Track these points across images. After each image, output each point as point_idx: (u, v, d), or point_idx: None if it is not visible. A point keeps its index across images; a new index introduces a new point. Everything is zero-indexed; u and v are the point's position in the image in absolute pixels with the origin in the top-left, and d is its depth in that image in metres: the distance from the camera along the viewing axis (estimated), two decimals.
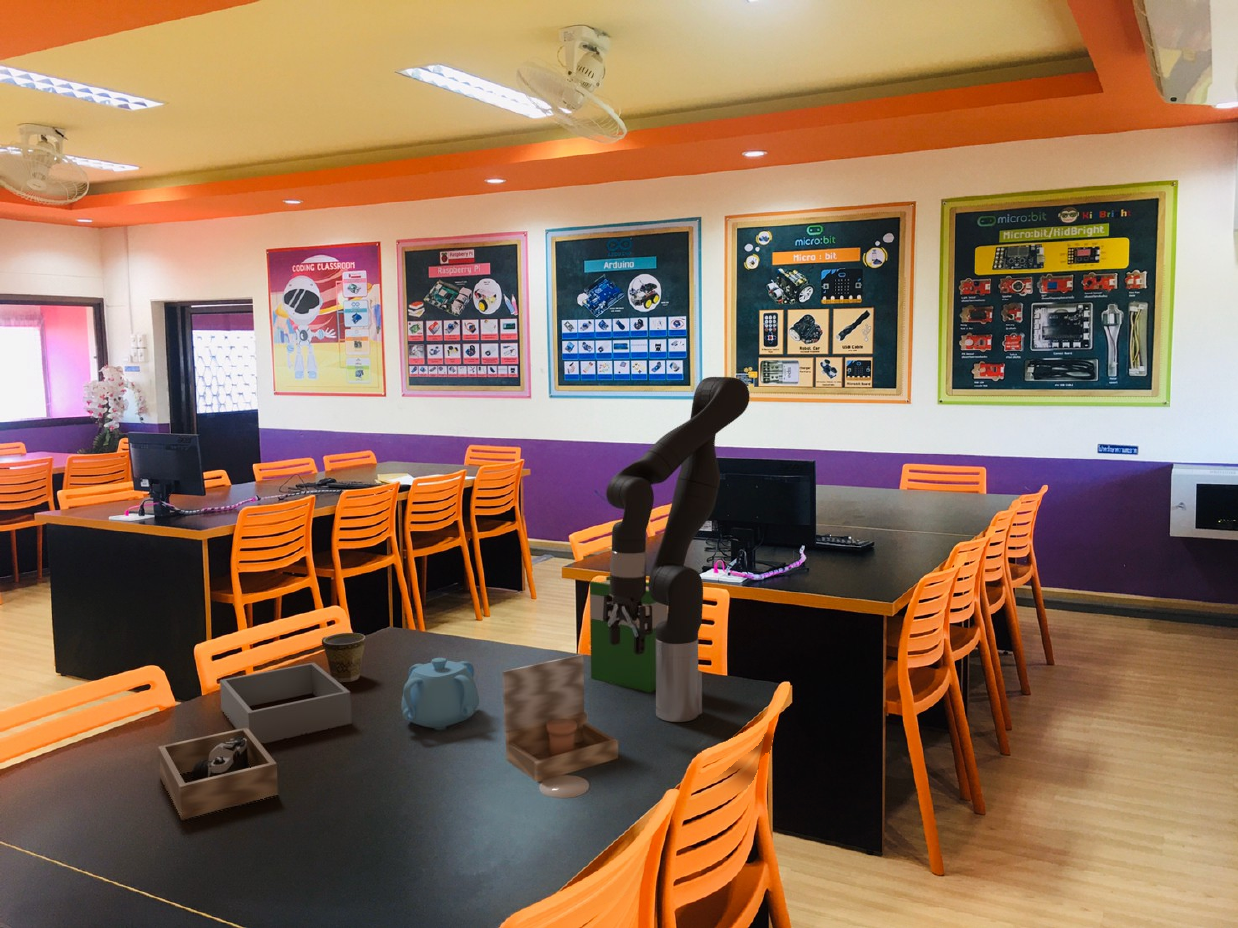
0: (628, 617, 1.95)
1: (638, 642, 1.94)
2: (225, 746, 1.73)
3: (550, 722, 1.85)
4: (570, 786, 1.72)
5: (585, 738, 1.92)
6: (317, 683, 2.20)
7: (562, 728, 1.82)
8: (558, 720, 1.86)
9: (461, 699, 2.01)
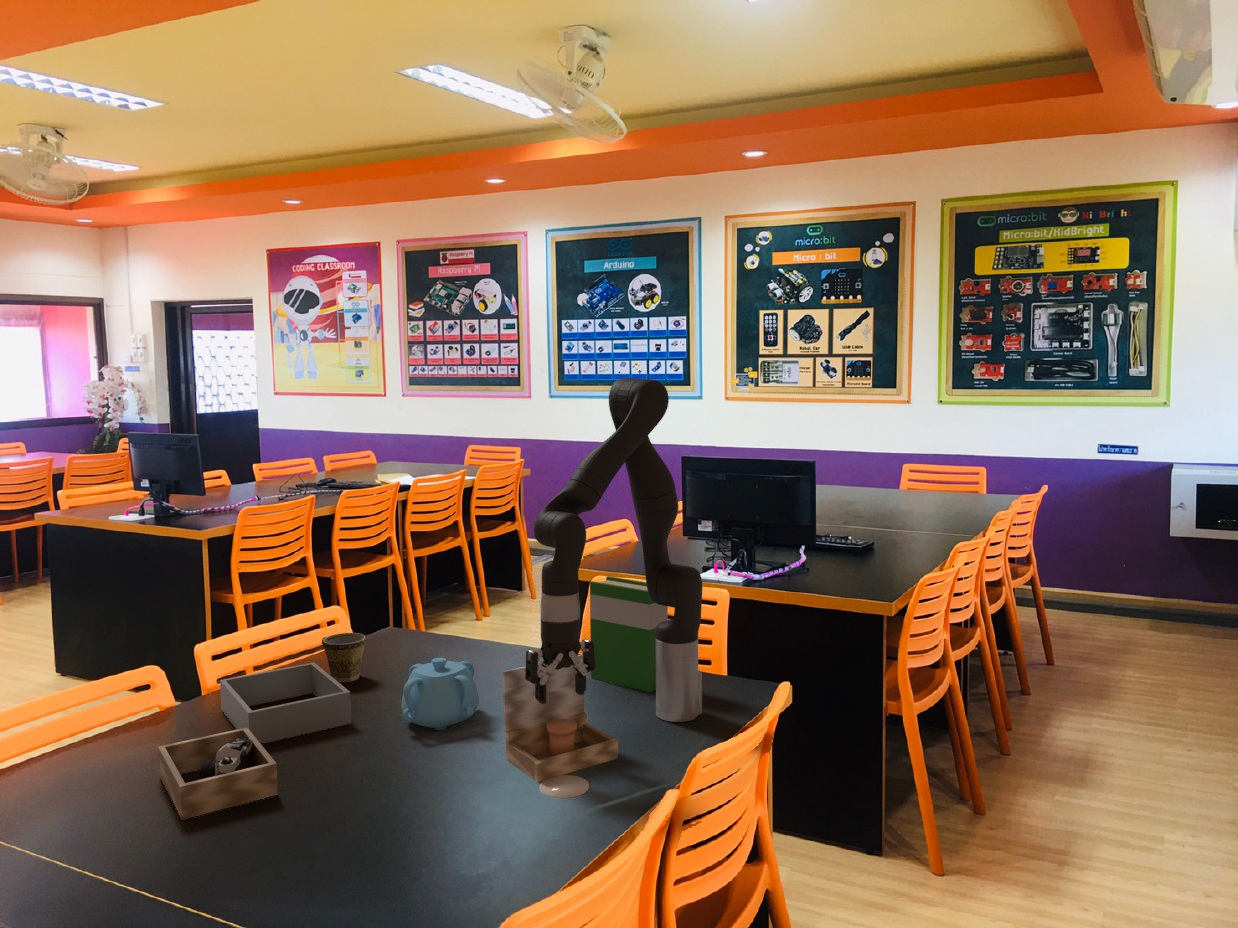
0: (577, 659, 1.82)
1: (584, 680, 1.85)
2: (232, 746, 1.73)
3: (550, 722, 1.85)
4: (570, 786, 1.72)
5: (585, 738, 1.92)
6: (317, 683, 2.20)
7: (562, 728, 1.82)
8: (558, 720, 1.86)
9: (461, 699, 2.01)
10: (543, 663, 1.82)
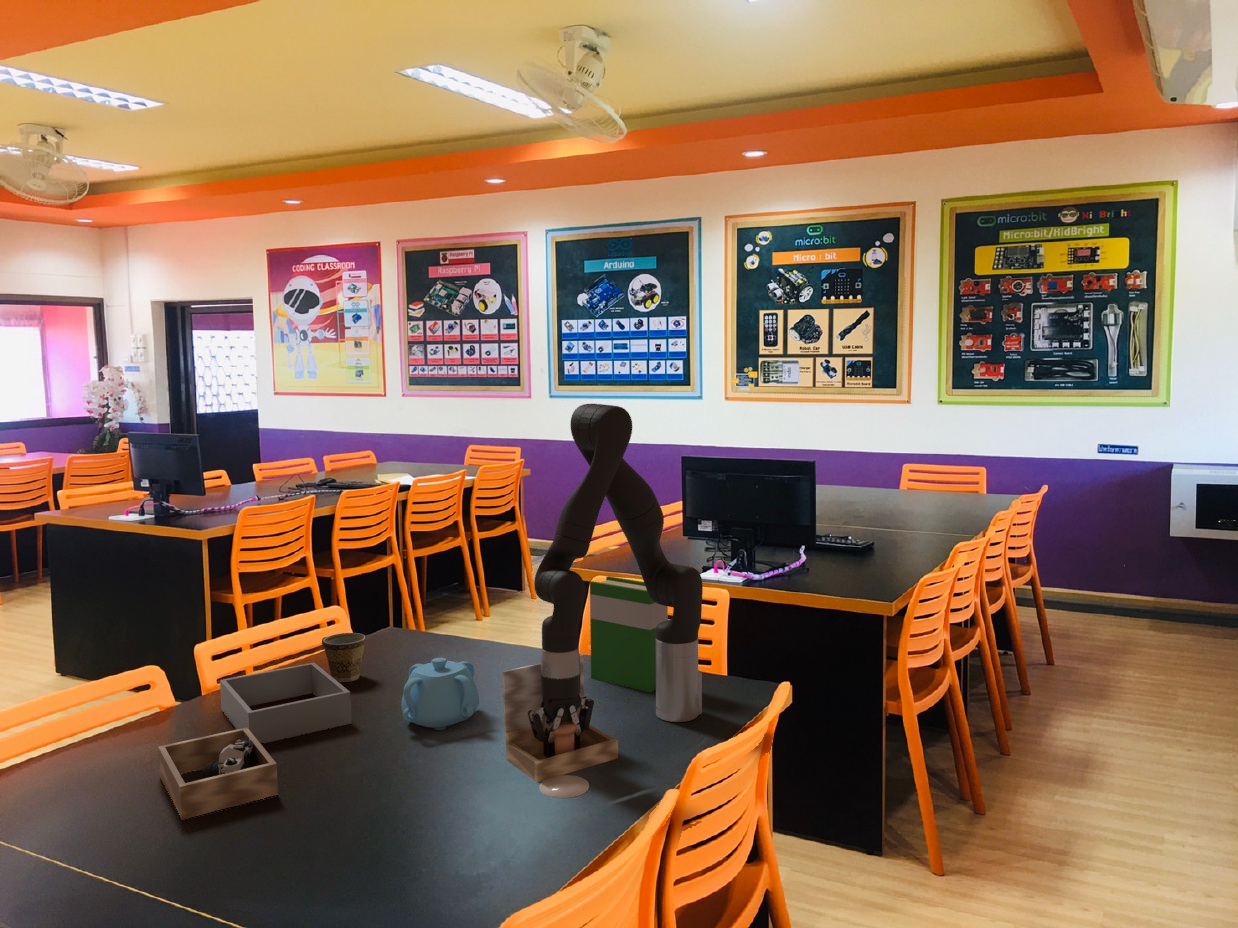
0: (575, 716, 1.83)
1: (578, 739, 1.86)
2: (235, 747, 1.73)
3: None
4: (570, 786, 1.72)
5: (585, 738, 1.92)
6: (317, 683, 2.20)
7: (562, 728, 1.82)
8: None
9: (461, 699, 2.01)
10: (547, 719, 1.83)
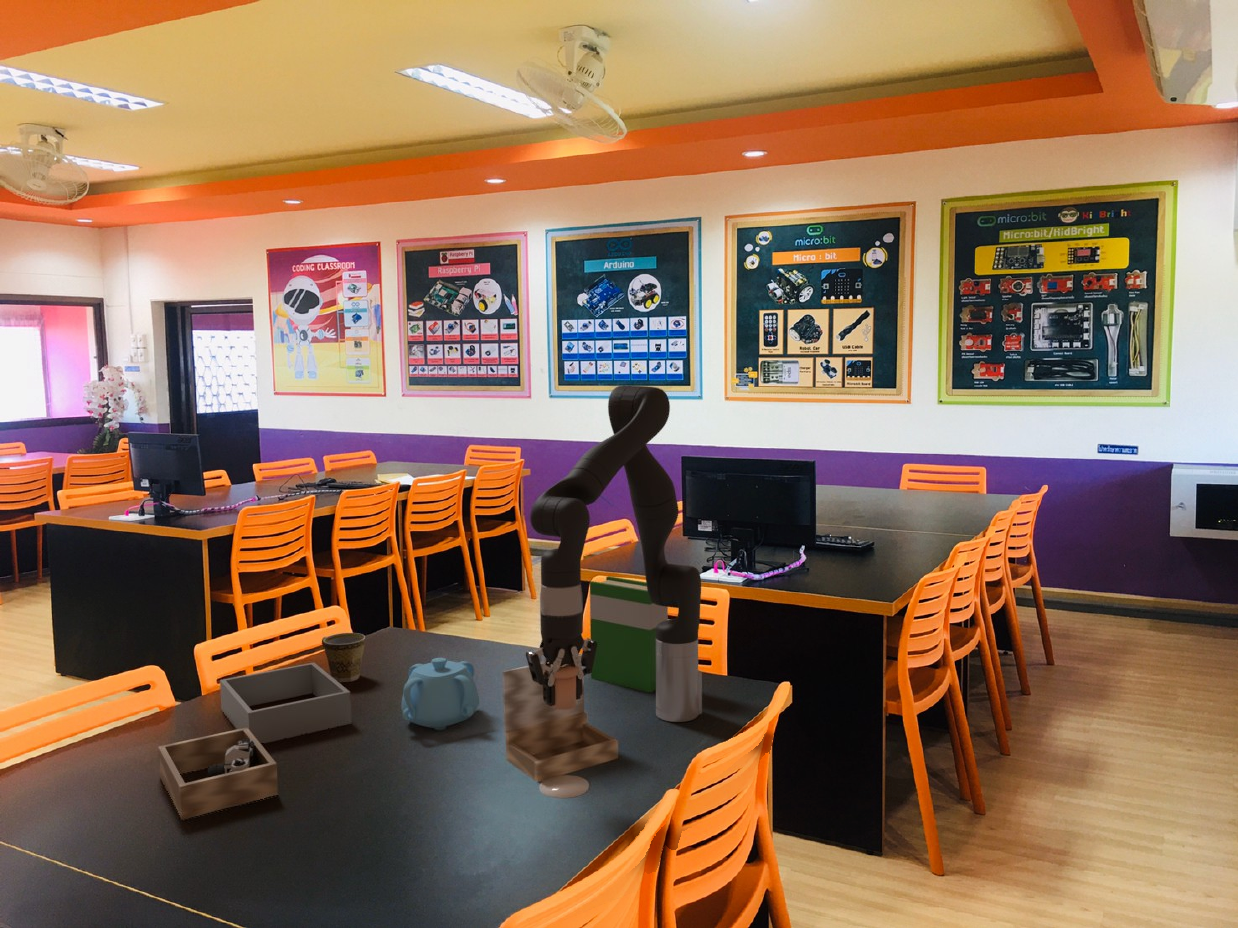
0: (577, 658, 1.70)
1: (580, 684, 1.72)
2: (241, 748, 1.72)
3: None
4: (570, 786, 1.72)
5: (585, 738, 1.92)
6: (317, 683, 2.20)
7: (563, 670, 1.68)
8: None
9: (461, 699, 2.01)
10: (547, 661, 1.70)
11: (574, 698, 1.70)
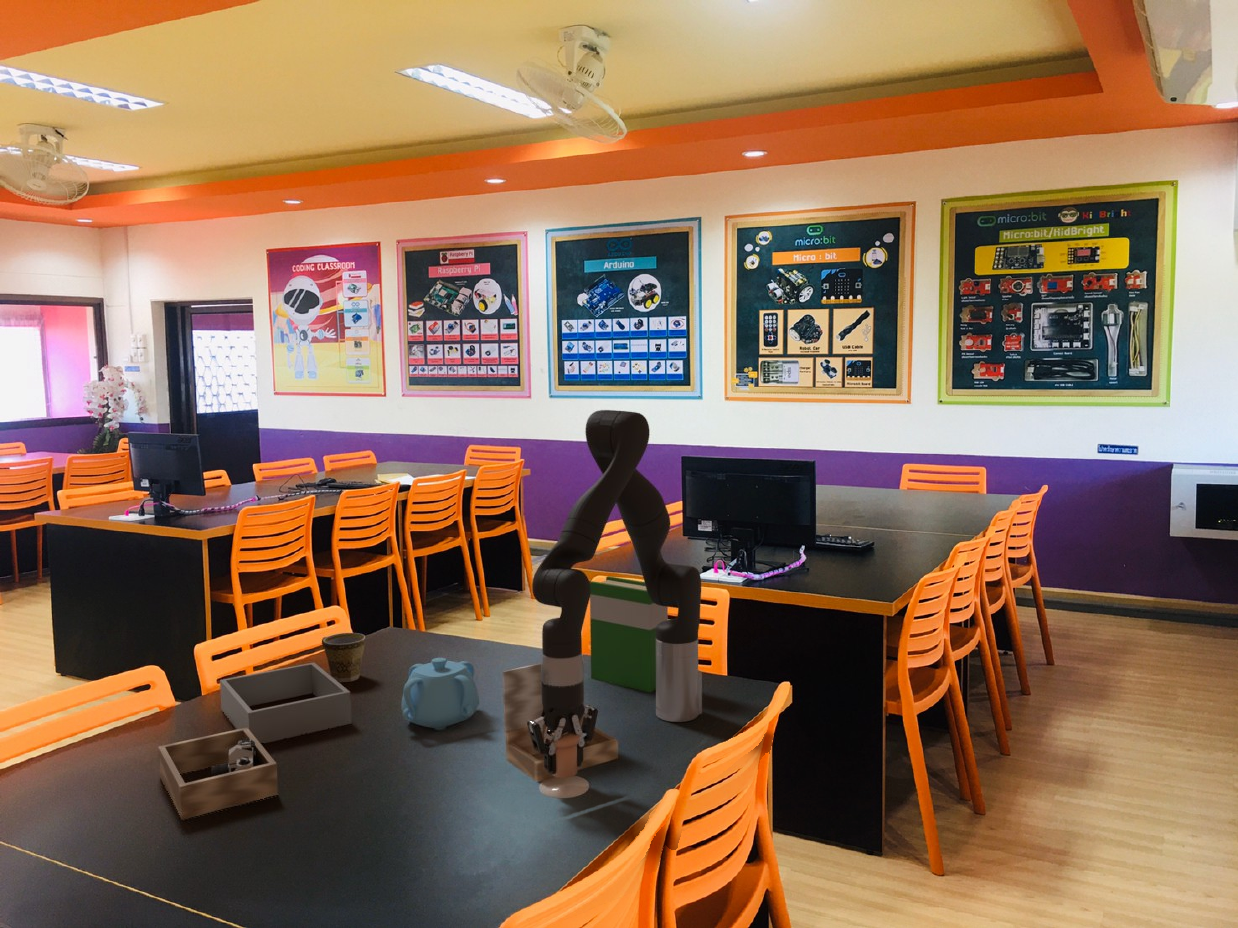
0: (578, 726, 1.71)
1: (581, 751, 1.73)
2: (244, 747, 1.73)
3: None
4: (570, 786, 1.72)
5: None
6: (317, 683, 2.20)
7: (564, 739, 1.69)
8: None
9: (461, 699, 2.01)
10: (548, 730, 1.71)
11: (575, 766, 1.71)
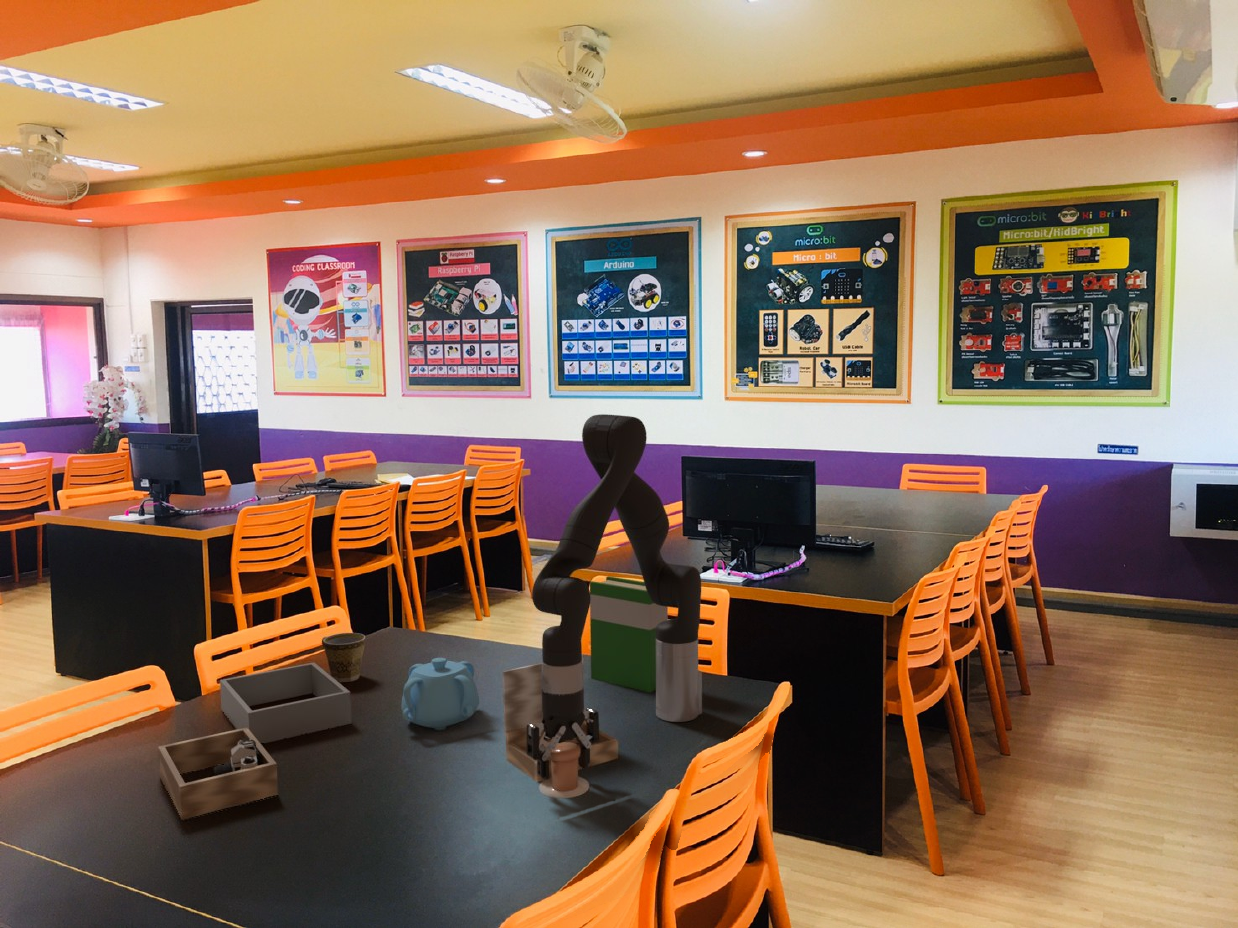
0: (580, 732, 1.72)
1: (588, 753, 1.74)
2: (247, 746, 1.73)
3: None
4: None
5: None
6: (317, 683, 2.20)
7: (565, 753, 1.70)
8: (560, 744, 1.74)
9: (461, 699, 2.01)
10: (545, 736, 1.71)
11: (576, 780, 1.71)
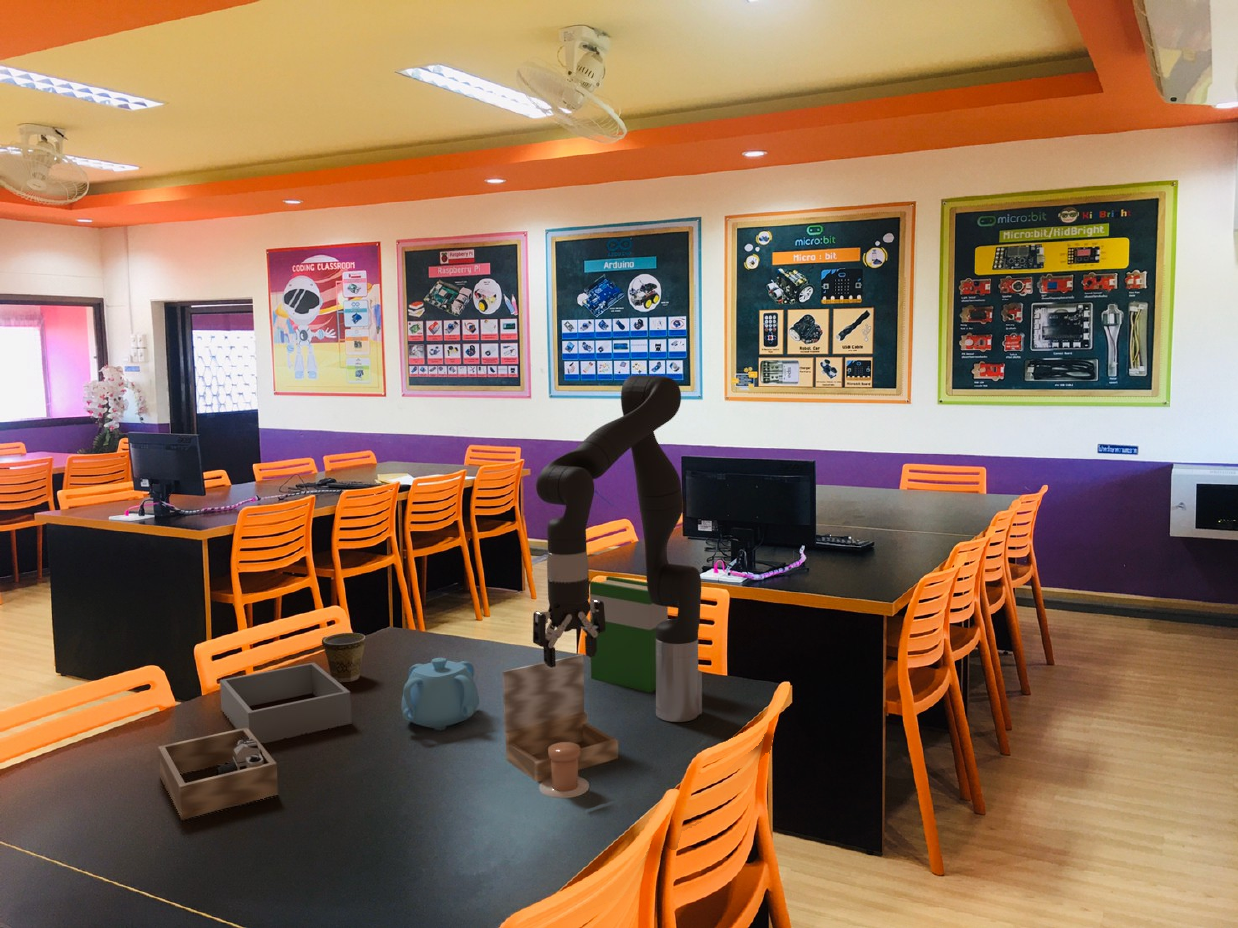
0: (587, 621, 1.74)
1: (595, 642, 1.77)
2: (250, 745, 1.73)
3: (552, 746, 1.73)
4: None
5: (585, 738, 1.92)
6: (317, 683, 2.20)
7: (565, 753, 1.70)
8: (560, 744, 1.74)
9: (461, 699, 2.01)
10: (551, 625, 1.73)
11: (576, 780, 1.71)
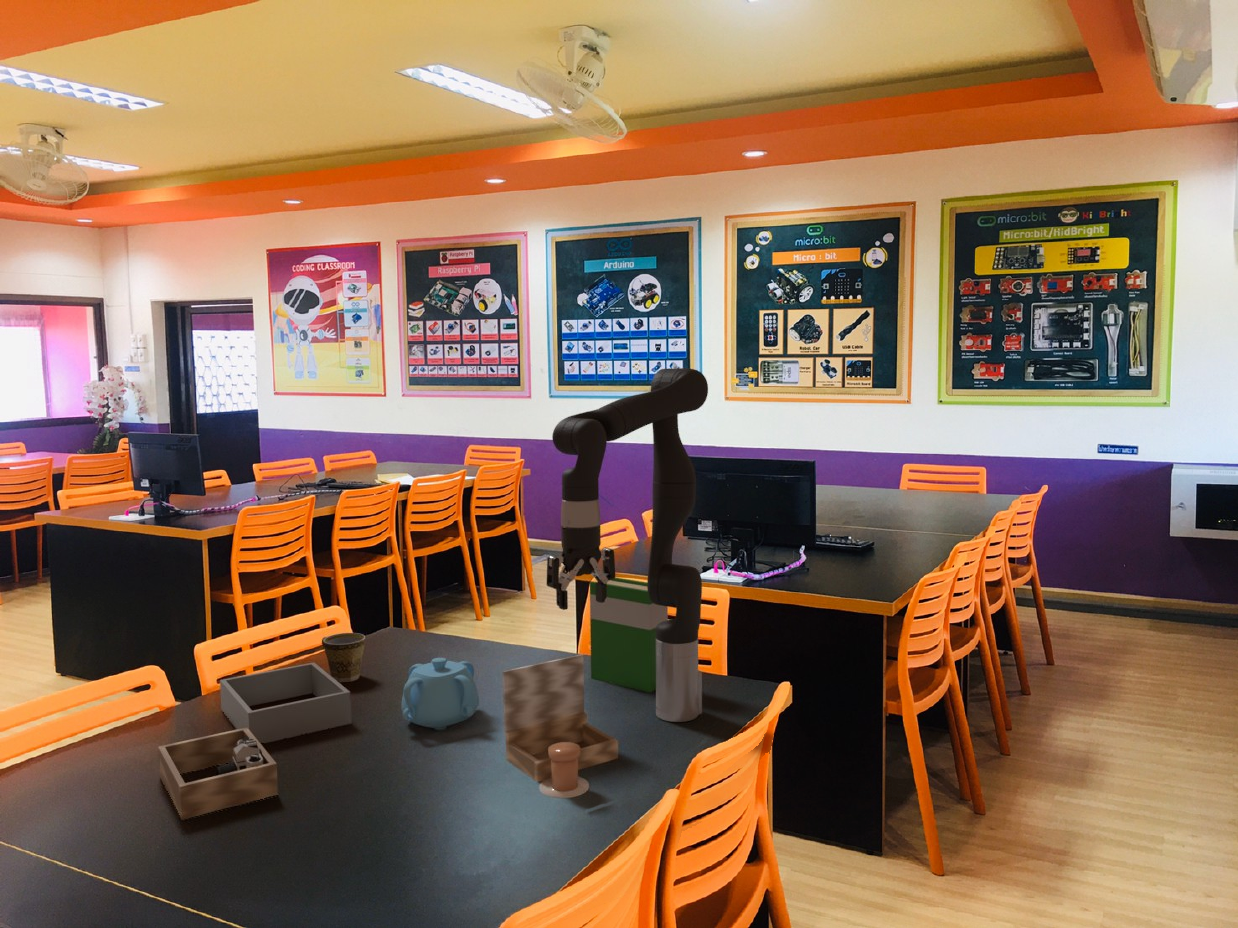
0: (598, 567, 1.84)
1: (605, 588, 1.86)
2: (250, 745, 1.74)
3: (552, 746, 1.73)
4: None
5: (585, 738, 1.92)
6: (317, 683, 2.20)
7: (565, 753, 1.70)
8: (560, 744, 1.74)
9: (461, 699, 2.01)
10: (564, 570, 1.83)
11: (576, 780, 1.71)
